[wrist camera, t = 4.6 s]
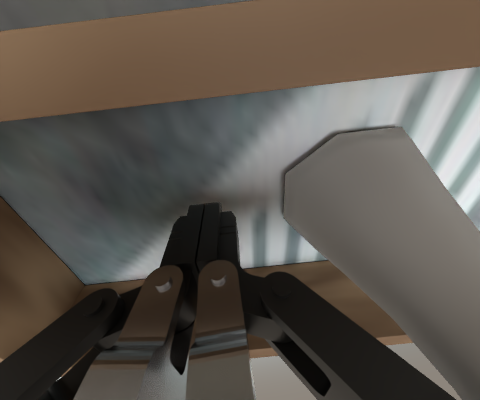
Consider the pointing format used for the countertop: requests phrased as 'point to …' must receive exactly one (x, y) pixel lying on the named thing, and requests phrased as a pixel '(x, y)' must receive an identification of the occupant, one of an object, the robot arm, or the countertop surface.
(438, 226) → the flask
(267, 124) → the countertop surface
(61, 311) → the open wooden frame
